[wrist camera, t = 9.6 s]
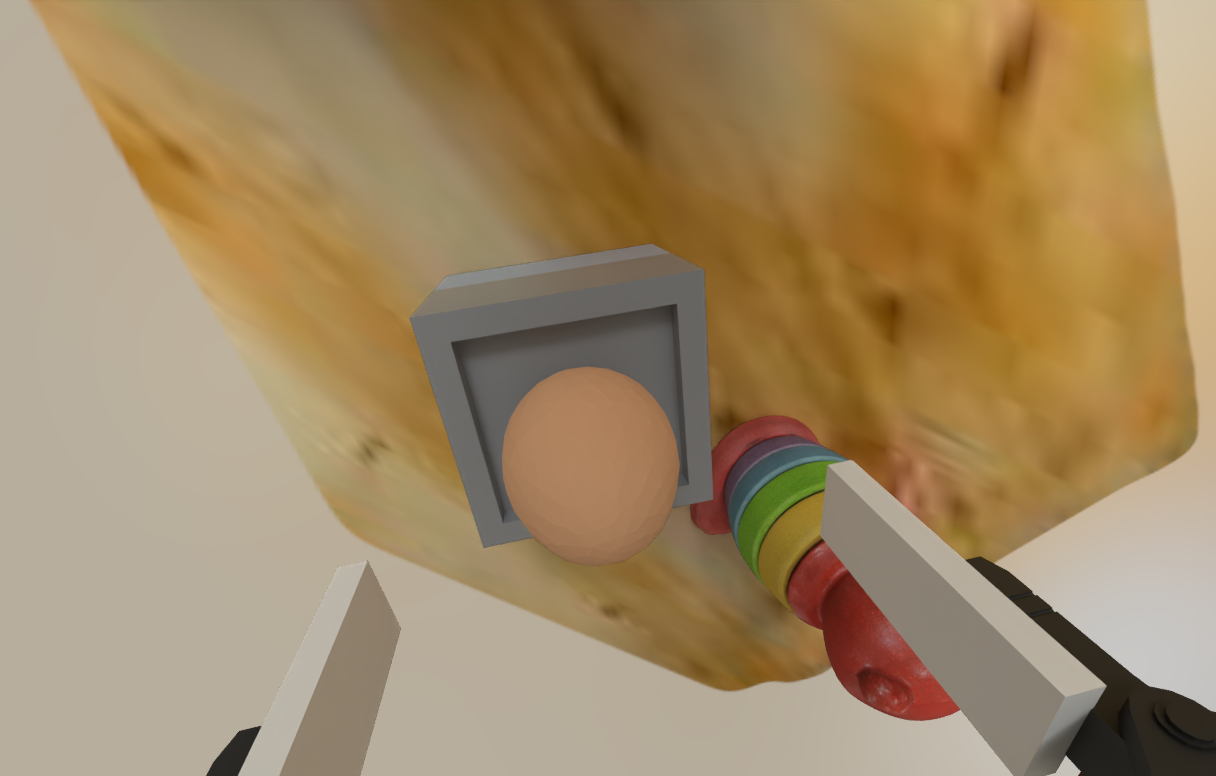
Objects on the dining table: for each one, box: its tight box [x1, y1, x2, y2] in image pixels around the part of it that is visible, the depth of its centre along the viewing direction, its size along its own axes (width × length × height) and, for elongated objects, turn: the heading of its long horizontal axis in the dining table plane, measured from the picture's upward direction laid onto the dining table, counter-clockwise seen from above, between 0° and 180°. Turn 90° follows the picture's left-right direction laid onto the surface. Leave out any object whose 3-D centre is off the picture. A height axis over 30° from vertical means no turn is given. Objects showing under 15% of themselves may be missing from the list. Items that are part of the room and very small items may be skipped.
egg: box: [502, 366, 680, 566], centre depth 18 cm, size 7×7×9 cm
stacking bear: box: [691, 416, 960, 721], centre depth 27 cm, size 11×10×18 cm
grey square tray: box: [410, 244, 713, 548], centre depth 25 cm, size 12×12×9 cm
